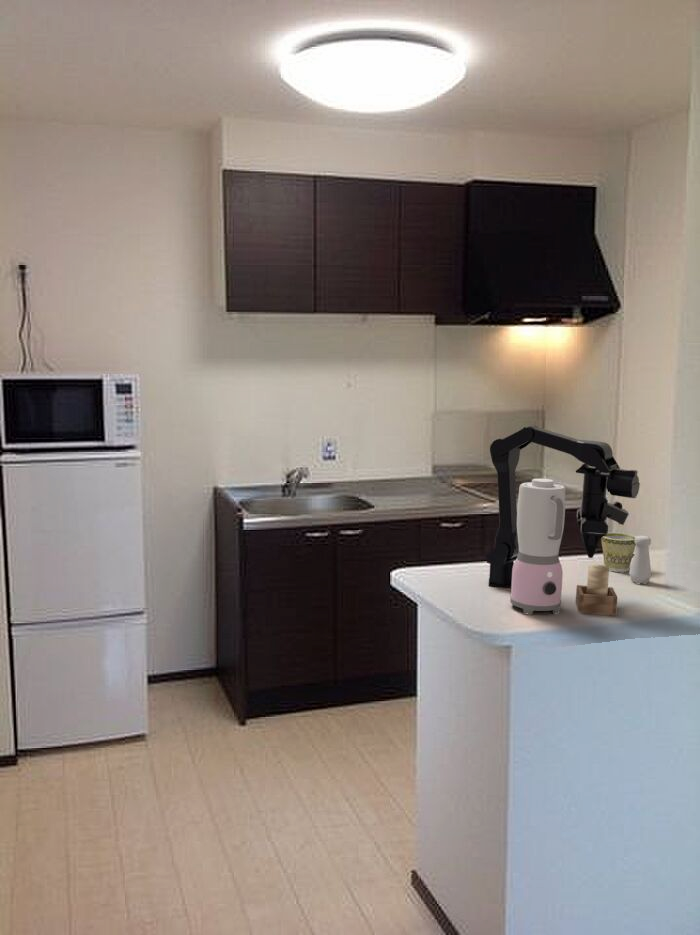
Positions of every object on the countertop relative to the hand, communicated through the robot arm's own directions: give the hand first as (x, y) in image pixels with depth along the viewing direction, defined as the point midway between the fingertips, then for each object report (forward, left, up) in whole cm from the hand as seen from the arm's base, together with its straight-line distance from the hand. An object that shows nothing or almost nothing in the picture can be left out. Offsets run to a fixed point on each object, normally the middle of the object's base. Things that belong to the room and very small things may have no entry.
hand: (589, 553), depth 223 cm
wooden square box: (+2, -6, -13) cm, 14 cm away
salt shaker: (+17, +23, -13) cm, 31 cm away
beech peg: (+2, -6, -12) cm, 13 cm away
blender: (-12, -11, -13) cm, 21 cm away
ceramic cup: (+14, +36, -13) cm, 40 cm away
